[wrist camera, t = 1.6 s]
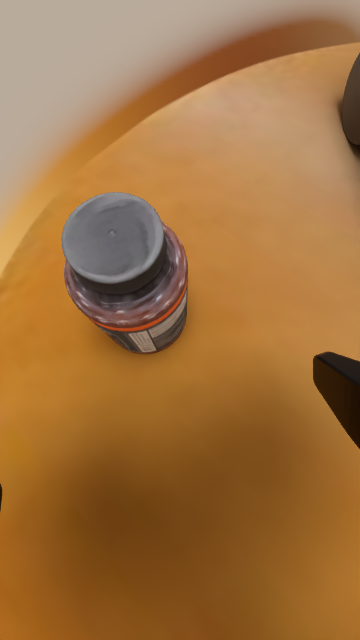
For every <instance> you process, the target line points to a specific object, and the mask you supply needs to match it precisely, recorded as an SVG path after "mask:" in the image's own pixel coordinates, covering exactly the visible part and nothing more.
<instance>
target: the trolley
mask: <svg viewBox="0 0 360 640" xmlns="http://www.w3.org/2000/svg"><path fill="white" fill-rule="evenodd" d="M342 124H343V129H344V132H345V135H346V137H347V138H348V140H349V141H350V142H352V143H353V144H360V53H359V55H358V57H357V59H356V60H355V62H354V65H353V67H352V69H351V72H350V74H349V77H348V80H347V84H346V87H345V92H344V97H343V104H342Z"/></svg>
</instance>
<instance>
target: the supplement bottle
mask: <svg viewBox="0 0 360 640" xmlns="http://www.w3.org/2000/svg"><path fill="white" fill-rule="evenodd" d="M62 248H63V252H64V256H65V258H66V261H65V268H64V278H65V284H66V287H67V290H68V293H69V295H70V297H71V298H72V300H73V302H74V303H75V304H76V306H77V307H78V309H80V310H81V311H82V312H83V313H84V314H85V315H86V316H87V317H88V318H89V319H90V320H91V321H92V322H93V323H95V324H96V325H97V326H98V327H99V328H100V329H102V330H103V331H104V332H105V333H106V334H107V335H108V336H109V337H111V338H112V339H113V340H114V341H115V342H116V343H117V344H119V345H120V346H122V347H123V348H125V349H127V350H130V351H132V352H135V353H141V354H147V353H154V352H158V351H161V350H163V349H165V348H167V347H168V346H170V345H171V344H172V343H173V342H174V341H175V340H176V339H177V338H178V337H179V335H180V334H181V332H182V330H183V327H184V325H185V321H186V314H187V288H188V264H187V258H186V254H185V250H184V247H183V245H182V243H181V241H180V240H179V238H178V237H177V235H176V234H175V233H174V232H173V230H172V229H171V228H170V227H169V226H167V225H166V224H165V223H163V222H162V221H161V219H160V217H159V215H158V213H157V212H156V210H155V209H154V208H153V207H152V206H151V205H150V204H149V203H147V202H146V201H145V200H143V199H142V198H140V197H137V196H135V195H131V194H128V193H119V192H116V193H115V192H113V193H105V194H101V195H97V196H94V197H93V198H90V199H89V200H87V201H85V202H84V203H82V204H81V205H80V206H78V207H77V208H76V209H75V210H74V211H73V212H72V214H71V215H70V216H69V218H68V220H67V221H66V223H65V226H64V229H63V234H62Z"/></svg>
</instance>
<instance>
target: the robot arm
mask: <svg viewBox="0 0 360 640" xmlns="http://www.w3.org/2000/svg"><path fill="white" fill-rule="evenodd" d="M313 380H314V383H315V385H316V387H317V389H318V390H319V392H320V393H321V395H322V396H323V398H324V399H325V401H326V402H327V404H328V405H329V407H330V408H331V410H332V411H333V413H334V414H335V416H336V417H337V419H338V420H339V422H340V423H341V425H342V426H343V428H344V429H345V431H346V432H347V434H348V435H349V436H350V437H351V439H352V440H353V441H354V443H355V444H356V445H357V446H358V447H359V449H360V362H359V361H357V360H354V359H351V358H348V357H345V356H342V355H339V354H336V353H333V352H324V353H321V354H318V355H316V356H314V358H313ZM1 501H2V487H1V484H0V510H1Z"/></svg>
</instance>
